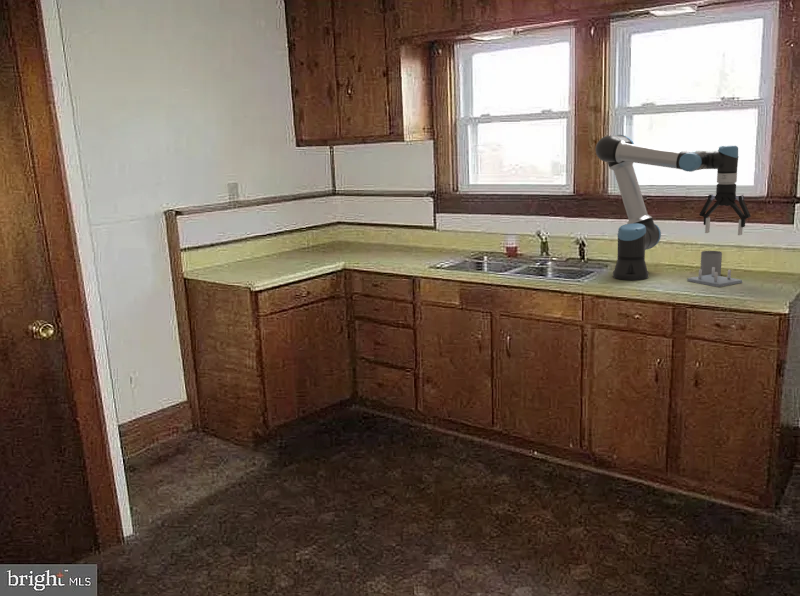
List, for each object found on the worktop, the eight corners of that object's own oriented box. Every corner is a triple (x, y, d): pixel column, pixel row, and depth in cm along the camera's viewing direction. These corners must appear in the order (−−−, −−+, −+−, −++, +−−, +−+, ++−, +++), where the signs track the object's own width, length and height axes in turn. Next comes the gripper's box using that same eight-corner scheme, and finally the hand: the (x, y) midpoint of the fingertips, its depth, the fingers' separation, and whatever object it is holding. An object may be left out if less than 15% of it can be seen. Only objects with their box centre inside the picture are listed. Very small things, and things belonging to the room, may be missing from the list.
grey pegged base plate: (687, 281, 305) (687, 269, 304) (710, 277, 311) (710, 265, 310) (718, 287, 291) (719, 274, 290) (741, 282, 297) (742, 270, 296)
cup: (710, 276, 311) (711, 254, 309) (696, 274, 319) (697, 252, 317) (724, 274, 315) (726, 252, 312) (710, 271, 322) (711, 250, 320)
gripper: (693, 183, 302) (690, 232, 307) (754, 184, 285) (750, 237, 290) (700, 182, 308) (697, 230, 312) (761, 183, 290) (757, 234, 295)
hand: (723, 233), depth 301 cm, fingers open, 13 cm apart
